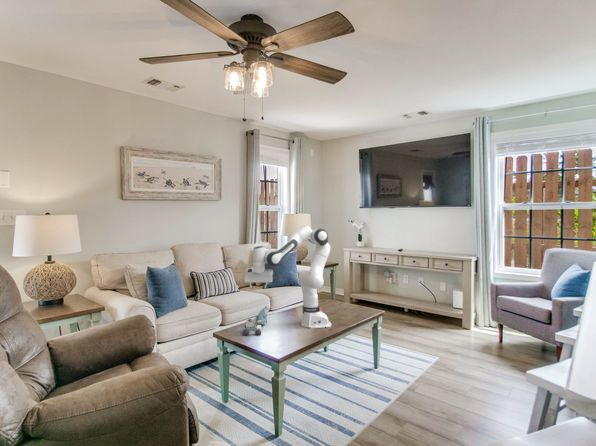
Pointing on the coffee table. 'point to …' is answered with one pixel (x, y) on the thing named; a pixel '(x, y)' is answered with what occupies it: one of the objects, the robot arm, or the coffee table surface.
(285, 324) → the coffee table surface
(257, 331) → the chassis
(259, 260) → the robot arm
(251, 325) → the cube with round knob
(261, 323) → the toy figure
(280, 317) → the coffee table surface
